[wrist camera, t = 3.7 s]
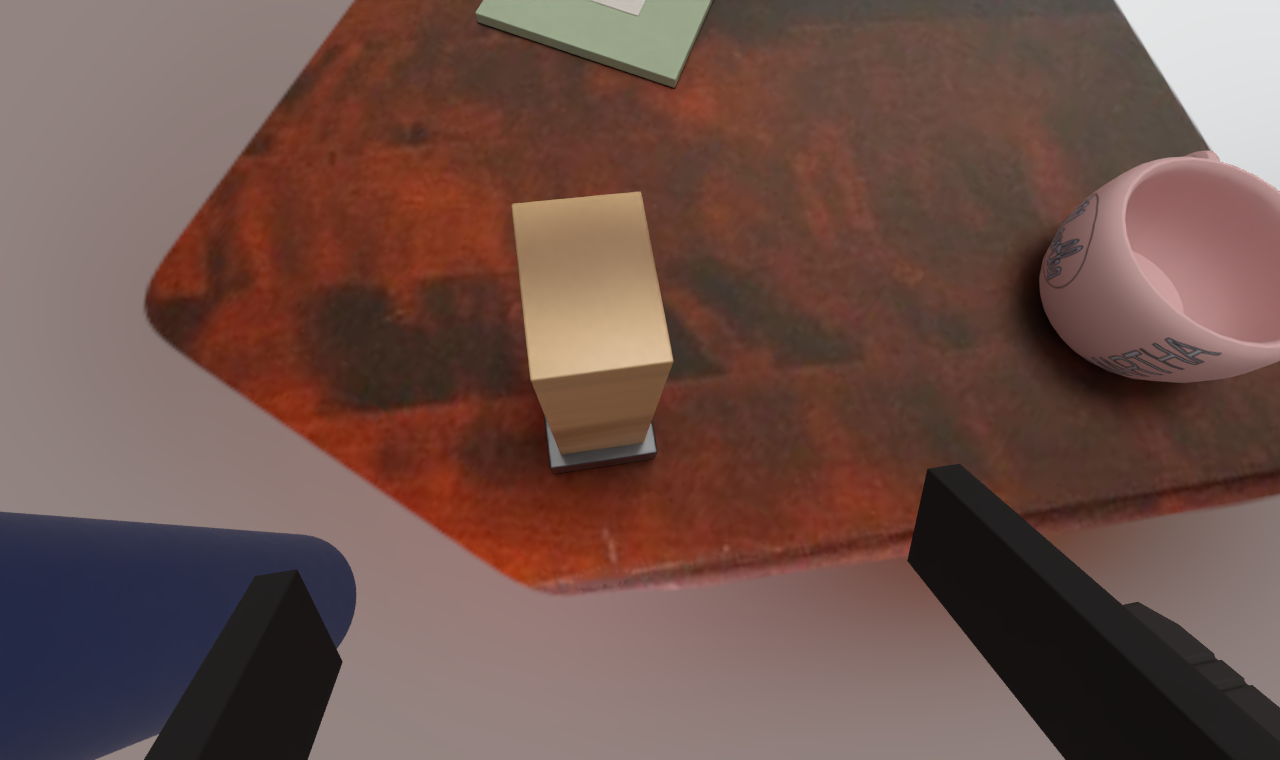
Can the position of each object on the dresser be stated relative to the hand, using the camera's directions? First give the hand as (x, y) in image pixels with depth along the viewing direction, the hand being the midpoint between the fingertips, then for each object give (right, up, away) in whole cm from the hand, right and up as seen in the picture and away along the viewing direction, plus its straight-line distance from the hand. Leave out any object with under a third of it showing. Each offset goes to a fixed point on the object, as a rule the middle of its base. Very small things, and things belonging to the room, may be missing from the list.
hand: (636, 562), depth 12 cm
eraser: (-2, +3, +13) cm, 14 cm away
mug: (+24, +8, +17) cm, 31 cm away
